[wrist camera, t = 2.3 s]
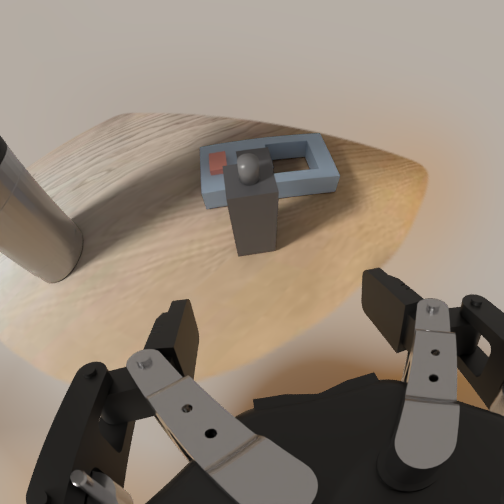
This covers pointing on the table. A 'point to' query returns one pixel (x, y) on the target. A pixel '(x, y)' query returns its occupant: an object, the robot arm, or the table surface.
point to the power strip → (271, 148)
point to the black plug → (252, 204)
